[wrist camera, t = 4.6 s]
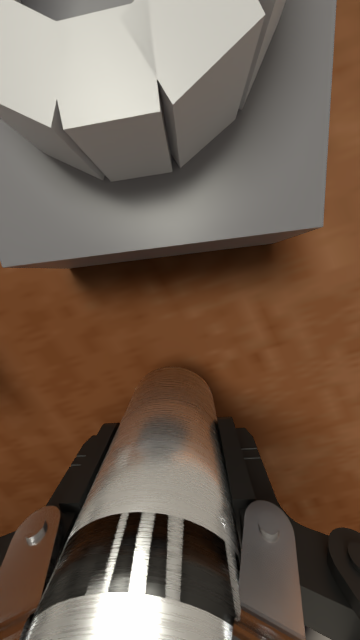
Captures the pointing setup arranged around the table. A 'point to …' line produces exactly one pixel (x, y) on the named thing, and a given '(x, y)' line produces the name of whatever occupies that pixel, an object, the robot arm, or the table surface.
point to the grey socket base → (160, 126)
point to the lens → (152, 529)
